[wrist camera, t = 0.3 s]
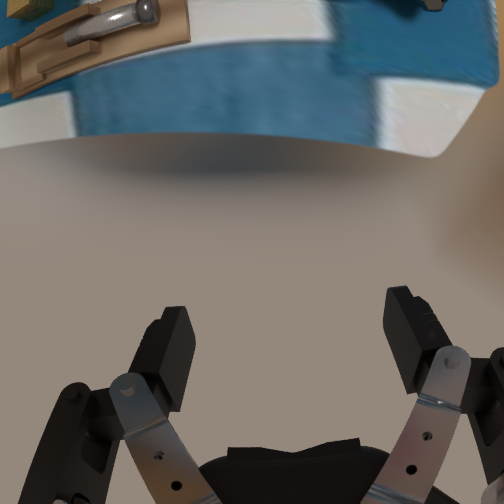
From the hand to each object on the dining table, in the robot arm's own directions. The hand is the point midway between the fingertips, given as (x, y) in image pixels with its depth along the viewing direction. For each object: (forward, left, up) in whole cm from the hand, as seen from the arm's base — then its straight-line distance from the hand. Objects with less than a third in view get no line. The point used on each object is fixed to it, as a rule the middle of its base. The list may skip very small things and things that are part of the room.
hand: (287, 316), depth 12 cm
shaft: (-21, -17, -27) cm, 38 cm away
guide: (-21, -22, -29) cm, 42 cm away
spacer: (-30, -30, -29) cm, 52 cm away
